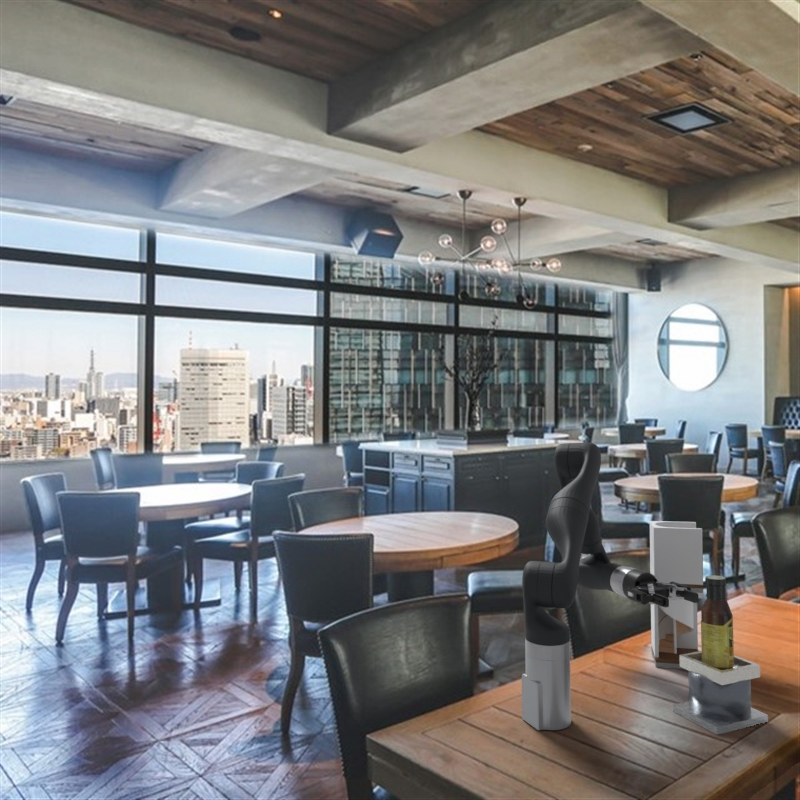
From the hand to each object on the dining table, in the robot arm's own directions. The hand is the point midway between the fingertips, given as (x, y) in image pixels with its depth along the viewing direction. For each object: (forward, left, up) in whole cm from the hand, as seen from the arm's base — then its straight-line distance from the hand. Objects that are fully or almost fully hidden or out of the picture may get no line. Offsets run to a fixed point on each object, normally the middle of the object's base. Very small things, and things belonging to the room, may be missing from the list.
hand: (682, 600), depth 162 cm
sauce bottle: (0, -10, -13) cm, 16 cm away
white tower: (+16, +19, -22) cm, 33 cm away
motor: (0, -10, -22) cm, 24 cm away
